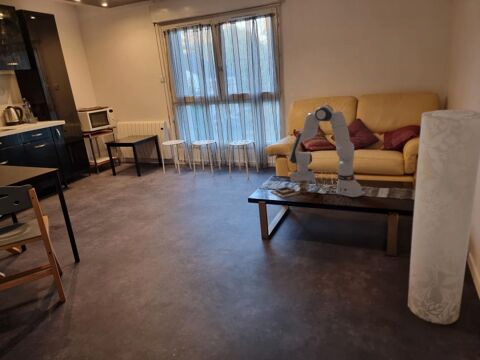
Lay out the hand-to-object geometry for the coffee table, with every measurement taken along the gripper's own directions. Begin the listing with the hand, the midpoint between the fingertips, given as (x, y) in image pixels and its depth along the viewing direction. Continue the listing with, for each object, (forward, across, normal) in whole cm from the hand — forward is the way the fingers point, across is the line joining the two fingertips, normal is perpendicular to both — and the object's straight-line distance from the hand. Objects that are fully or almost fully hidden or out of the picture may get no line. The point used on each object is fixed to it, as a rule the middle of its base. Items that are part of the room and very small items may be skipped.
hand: (303, 186), depth 272 cm
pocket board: (+5, -14, +1) cm, 15 cm away
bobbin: (+3, 0, +4) cm, 4 cm away
